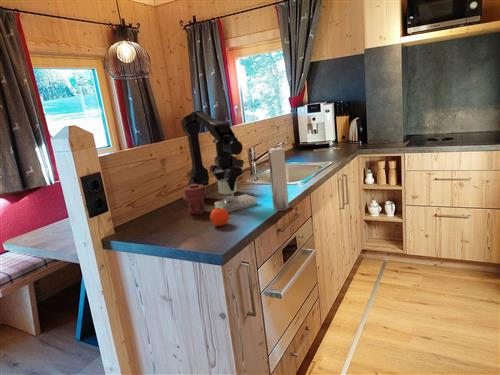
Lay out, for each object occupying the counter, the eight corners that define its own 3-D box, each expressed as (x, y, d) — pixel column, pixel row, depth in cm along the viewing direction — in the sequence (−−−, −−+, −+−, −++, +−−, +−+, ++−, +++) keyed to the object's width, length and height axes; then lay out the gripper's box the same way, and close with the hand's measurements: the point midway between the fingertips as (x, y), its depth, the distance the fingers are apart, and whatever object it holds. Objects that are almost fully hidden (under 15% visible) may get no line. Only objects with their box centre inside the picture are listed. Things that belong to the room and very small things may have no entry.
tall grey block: (279, 205, 153) (274, 147, 147) (292, 207, 149) (287, 147, 143) (270, 209, 148) (264, 149, 142) (283, 211, 144) (277, 149, 138)
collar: (216, 192, 156) (214, 180, 155) (231, 188, 160) (230, 177, 159) (224, 195, 150) (223, 183, 148) (240, 190, 153) (239, 179, 152)
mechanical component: (210, 213, 152) (187, 217, 149) (207, 207, 161) (184, 211, 159) (206, 185, 149) (182, 189, 146) (203, 180, 158) (180, 184, 156)
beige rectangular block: (215, 209, 158) (213, 194, 156) (246, 200, 166) (244, 186, 164) (225, 213, 150) (223, 198, 149) (256, 204, 158) (255, 189, 157)
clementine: (222, 220, 142) (219, 203, 140) (235, 222, 137) (233, 205, 136) (207, 227, 136) (205, 209, 134) (220, 229, 131) (218, 211, 130)
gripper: (251, 151, 147) (255, 188, 151) (229, 148, 162) (233, 182, 166) (228, 156, 141) (232, 194, 145) (207, 152, 157) (211, 187, 161)
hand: (227, 189), depth 154 cm, fingers closed on collar, 8 cm apart
